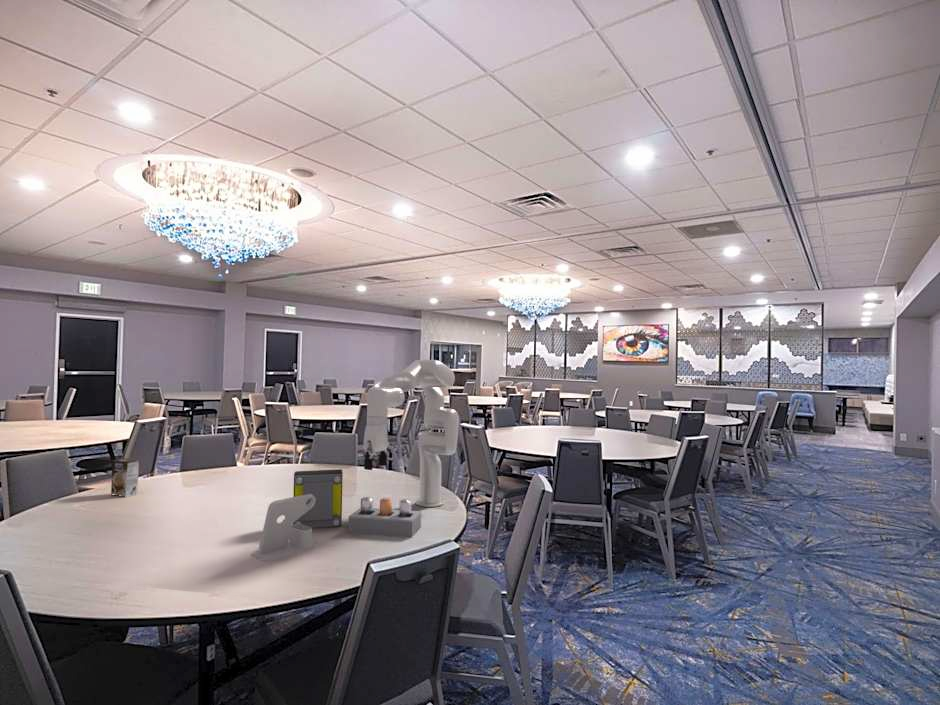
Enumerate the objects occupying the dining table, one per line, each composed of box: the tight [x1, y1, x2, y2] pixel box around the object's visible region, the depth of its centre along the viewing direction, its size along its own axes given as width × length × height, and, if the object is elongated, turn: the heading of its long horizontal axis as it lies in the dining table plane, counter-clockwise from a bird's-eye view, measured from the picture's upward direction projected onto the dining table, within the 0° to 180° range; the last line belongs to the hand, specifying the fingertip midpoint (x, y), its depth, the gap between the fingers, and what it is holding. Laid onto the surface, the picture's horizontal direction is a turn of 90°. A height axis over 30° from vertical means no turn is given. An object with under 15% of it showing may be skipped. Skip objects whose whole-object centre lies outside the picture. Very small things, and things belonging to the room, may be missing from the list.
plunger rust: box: [379, 497, 393, 515], centre depth 194 cm, size 4×4×5 cm
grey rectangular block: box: [348, 507, 422, 538], centre depth 194 cm, size 12×24×6 cm, turn 80°
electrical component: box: [292, 468, 343, 529], centre depth 199 cm, size 18×10×20 cm, turn 105°
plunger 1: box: [360, 496, 374, 514], centre depth 196 cm, size 4×4×5 cm
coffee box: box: [110, 458, 140, 497], centre depth 240 cm, size 9×6×16 cm
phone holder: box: [252, 494, 316, 562], centre depth 171 cm, size 17×10×18 cm, turn 140°
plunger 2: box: [398, 498, 412, 517], centre depth 193 cm, size 4×4×5 cm
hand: (375, 467), depth 194 cm, fingers open, 9 cm apart
